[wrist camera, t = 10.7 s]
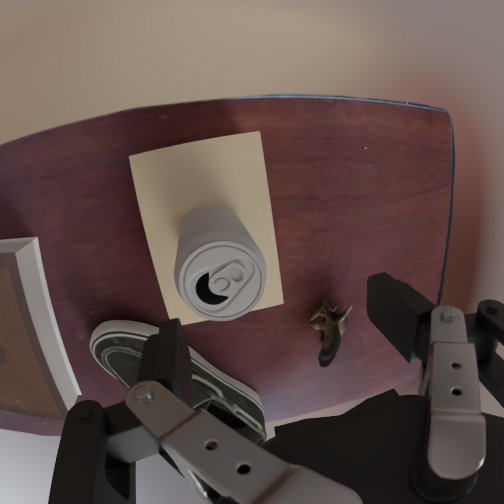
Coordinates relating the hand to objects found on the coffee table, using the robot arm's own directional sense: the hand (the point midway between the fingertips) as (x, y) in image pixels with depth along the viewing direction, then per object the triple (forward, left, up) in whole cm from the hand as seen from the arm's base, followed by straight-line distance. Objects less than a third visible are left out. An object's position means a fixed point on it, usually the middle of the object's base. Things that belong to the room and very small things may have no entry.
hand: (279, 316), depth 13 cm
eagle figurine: (+21, +12, -28) cm, 37 cm away
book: (+11, -40, -28) cm, 50 cm away
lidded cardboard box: (+2, -2, -28) cm, 28 cm away
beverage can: (+2, -2, -20) cm, 20 cm away
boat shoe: (+25, -11, -28) cm, 39 cm away
